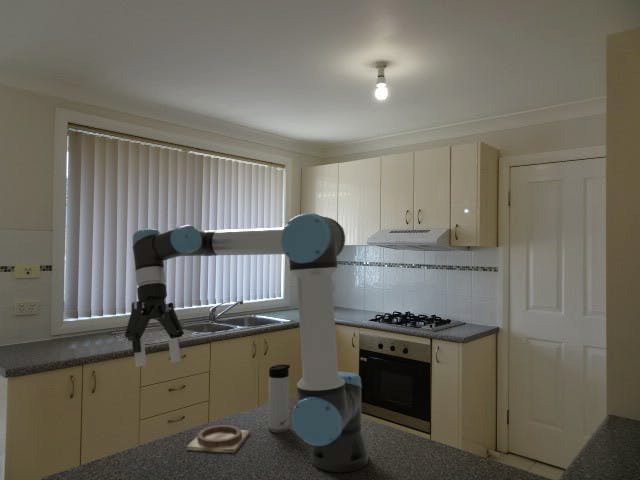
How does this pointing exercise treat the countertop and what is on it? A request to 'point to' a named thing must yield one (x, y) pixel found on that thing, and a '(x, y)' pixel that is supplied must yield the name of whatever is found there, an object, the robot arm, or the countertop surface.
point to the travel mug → (279, 398)
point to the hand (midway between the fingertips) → (159, 364)
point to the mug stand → (219, 439)
